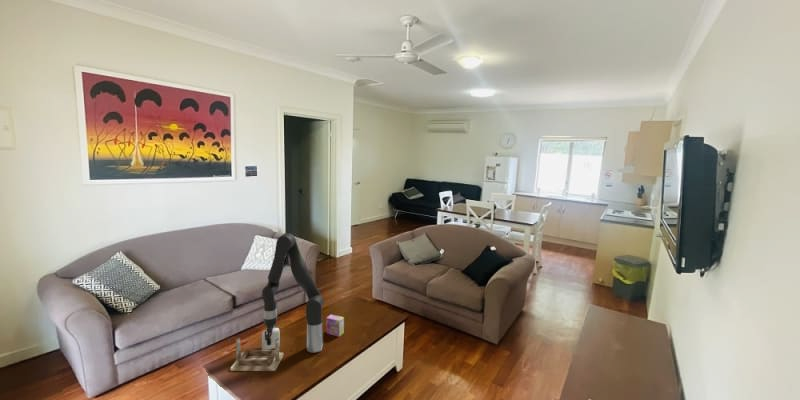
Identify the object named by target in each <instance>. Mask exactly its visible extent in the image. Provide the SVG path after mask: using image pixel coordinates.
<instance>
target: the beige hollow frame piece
mask: <svg viewBox="0 0 800 400" xmlns="http://www.w3.org/2000/svg"><path fill="white" fill-rule="evenodd" d="M235 346H236V347H235V353H236V356H235V359H236V360H235V361H234V363H233V364H232V365H231V367H230V371H231V372H234V371H237V372H239V371H240V372H241V371H242V372H243V371H244V372H255V371H256V372H257V371H258V372H260V371H261V372H268V371H269V372H273V371H274V372H276V370H277V369H278V366H279V365H280V362H281V360H282V359H283V357H284V352H280V346H279V338H277V339H275V348H274V349H269V350H262V349H246V350H244V351H243V352H241V351H242V350H241V349H242V347H241V338H240V337H238V338H237V337H236V339H235Z"/></svg>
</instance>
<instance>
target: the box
mask: <svg viewBox="0 0 800 400" xmlns="http://www.w3.org/2000/svg"><path fill="white" fill-rule="evenodd" d="M325 324H326V332H325V333H326V334H328V335H332V336H334V337H335V336H336V337H338V338H340V337H341V336H342V335H343V334H344V332H345V330H344V329H345V317H344V316H340V315H335V314H330V315H328V316H327V317H326V323H325Z"/></svg>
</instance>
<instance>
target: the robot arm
mask: <svg viewBox="0 0 800 400" xmlns="http://www.w3.org/2000/svg"><path fill="white" fill-rule="evenodd" d="M275 244H276V245H275V251H274V256H273V260H272V265H271V267H270V268H269V269H270V270H269V273H268V277H267V279H268V281H267V284H266V285H265V286H264V287H263V289H262V291H261V296H262V300H263V325H264V326H266V328H265V330H266V331H265V340H267V345H271V335H272V333H273V328H277V323H278V311H277V309H278V308H277V299H276V298H275V295H276V293H277V292H278V290H279V286H280V282H281V281H280V280H281V278H282V274H283V270H284V268H285V267H284V264H285V259H286V256H287V255H288V258H289V264H290V271H291V273H292V276H293V277H294V280H295V282H296V283H297V284H298V285H299V286H300V288H302V289H303V290H304V292H305V294H306V297H307V299H308V301H307V302H306V305H305V319H306V320H305V321H306V351H307V352H309V353H313V354H314V353H319V352H322V349H323V346H324V331H323V321H324V320H323V316H322V308H323V306H324V303H325V301H324V298H323V296H322V295H321V293H320V291H319V289H318V288H317V286H316V284H315V280H314V279H313V277H312V274H311V272H310V270H309V268H308V265H307V263H306V262H305V259H304V257H303V256H302V253H301V251H300V248H299V246H298V243H297V240H296V238H295V236H294V235H293V234H292V233H289V232H285V233H283V234H281V235H279V236H278V238H277V240H276V243H275ZM270 333H271V334H270Z"/></svg>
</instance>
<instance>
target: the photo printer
mask: <svg viewBox="0 0 800 400" xmlns="http://www.w3.org/2000/svg"><path fill="white" fill-rule="evenodd" d="M265 331H266V329H264V330H262V334H261V350H274V349H275V339H277V338H279V347H280V342H281V341H280V340H281V339H280V338H281V336H280V335H281V334H280V333H281V332H280V328H279V327H276V328H273V333H272V335H271V345H267V340H265ZM270 334H271V333H270Z"/></svg>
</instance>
